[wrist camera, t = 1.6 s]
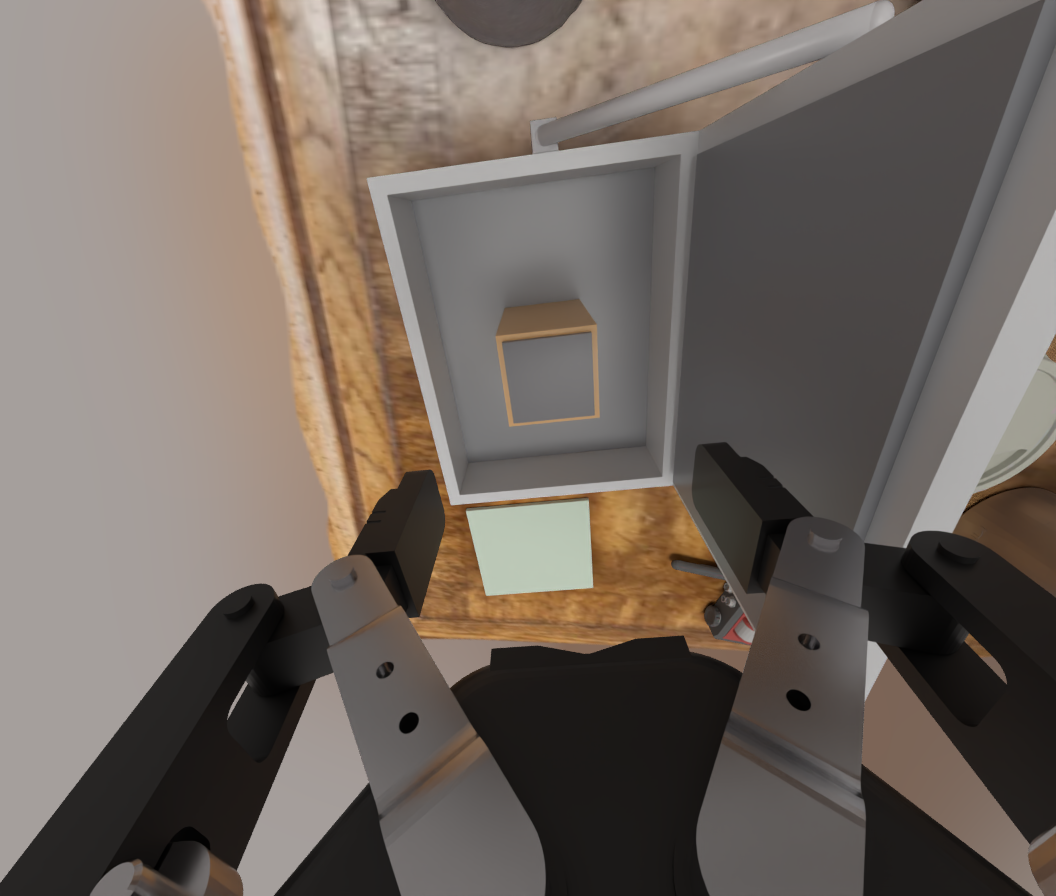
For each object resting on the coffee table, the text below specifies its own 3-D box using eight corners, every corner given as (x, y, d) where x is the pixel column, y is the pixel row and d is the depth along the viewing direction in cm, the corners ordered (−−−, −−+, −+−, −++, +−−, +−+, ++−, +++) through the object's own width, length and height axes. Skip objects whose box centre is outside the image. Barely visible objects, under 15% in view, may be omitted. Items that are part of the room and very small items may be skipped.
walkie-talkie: (850, 584, 41) (672, 545, 39) (884, 621, 37) (688, 580, 35) (800, 636, 45) (637, 604, 43) (826, 675, 41) (647, 641, 39)
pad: (588, 497, 35) (588, 500, 35) (592, 584, 41) (593, 587, 40) (466, 508, 36) (465, 511, 36) (486, 592, 41) (486, 595, 41)
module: (579, 299, 26) (597, 325, 19) (582, 371, 29) (600, 419, 21) (504, 307, 27) (495, 337, 19) (514, 379, 29) (508, 429, 22)
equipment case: (695, 120, 23) (1515, -420, 4) (672, 445, 33) (863, 738, 14) (393, 164, 24) (-142, -89, 5) (462, 465, 34) (376, 762, 15)
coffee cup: (738, 400, 31) (845, 489, 20) (800, 285, 27) (974, 322, 16) (836, 424, 32) (987, 521, 21) (910, 317, 28) (1141, 371, 17)
